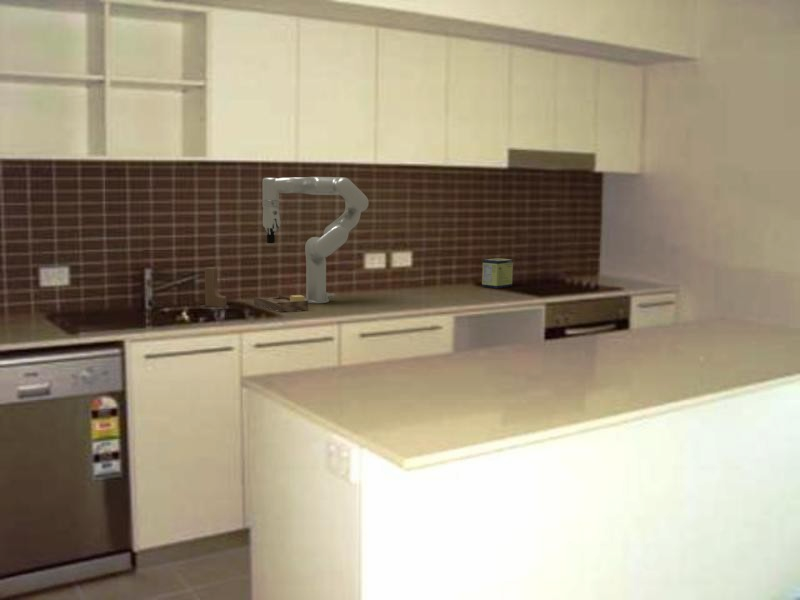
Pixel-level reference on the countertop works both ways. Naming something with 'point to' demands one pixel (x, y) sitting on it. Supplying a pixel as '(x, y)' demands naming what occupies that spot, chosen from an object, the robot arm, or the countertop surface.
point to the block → (297, 298)
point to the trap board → (281, 303)
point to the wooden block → (213, 289)
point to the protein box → (497, 273)
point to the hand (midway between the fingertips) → (270, 242)
